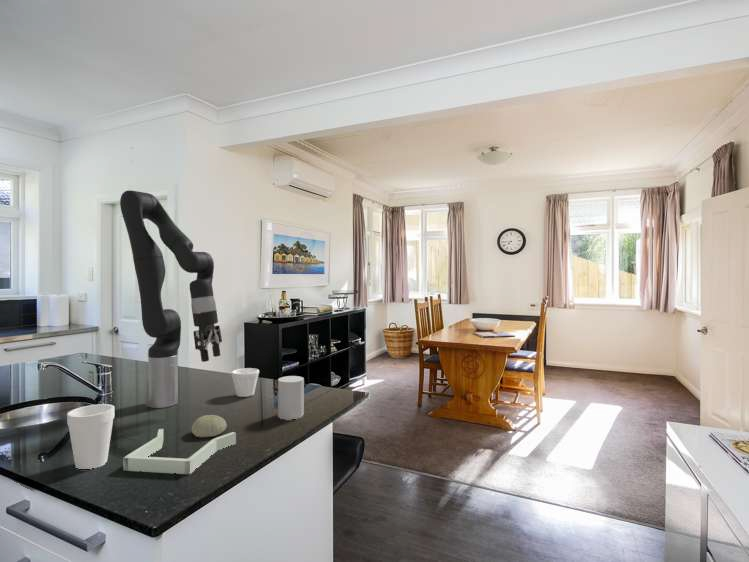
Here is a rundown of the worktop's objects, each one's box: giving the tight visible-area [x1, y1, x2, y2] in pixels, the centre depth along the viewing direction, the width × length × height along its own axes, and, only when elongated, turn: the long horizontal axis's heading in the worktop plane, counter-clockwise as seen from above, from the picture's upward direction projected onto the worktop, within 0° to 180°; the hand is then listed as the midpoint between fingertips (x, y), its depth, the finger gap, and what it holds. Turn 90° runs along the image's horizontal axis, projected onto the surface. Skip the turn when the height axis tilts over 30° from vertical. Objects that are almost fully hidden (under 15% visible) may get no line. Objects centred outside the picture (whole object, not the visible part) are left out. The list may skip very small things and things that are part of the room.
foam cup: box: [66, 403, 116, 470], centre depth 100 cm, size 10×9×13 cm
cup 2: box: [277, 375, 305, 421], centre depth 135 cm, size 8×8×12 cm
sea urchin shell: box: [191, 414, 228, 438], centre depth 120 cm, size 9×8×8 cm
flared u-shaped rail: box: [122, 428, 237, 475], centre depth 105 cm, size 22×18×3 cm
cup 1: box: [231, 367, 260, 398], centre depth 157 cm, size 10×10×9 cm
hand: (211, 358), depth 139 cm, fingers open, 8 cm apart
